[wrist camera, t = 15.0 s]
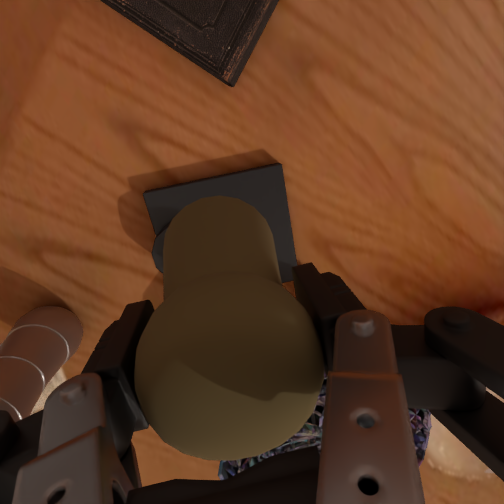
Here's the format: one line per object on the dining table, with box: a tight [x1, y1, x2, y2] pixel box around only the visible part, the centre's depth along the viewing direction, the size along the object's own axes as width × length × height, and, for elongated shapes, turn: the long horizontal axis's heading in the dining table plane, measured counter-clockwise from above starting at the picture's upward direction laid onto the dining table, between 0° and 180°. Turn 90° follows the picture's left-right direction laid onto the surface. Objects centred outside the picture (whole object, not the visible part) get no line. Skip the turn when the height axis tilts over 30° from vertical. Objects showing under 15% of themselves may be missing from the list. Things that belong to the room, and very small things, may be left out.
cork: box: [134, 195, 324, 461], centre depth 13 cm, size 6×6×11 cm
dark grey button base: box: [143, 163, 297, 283], centre depth 35 cm, size 15×13×3 cm
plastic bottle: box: [0, 306, 83, 422], centre depth 28 cm, size 6×7×20 cm
